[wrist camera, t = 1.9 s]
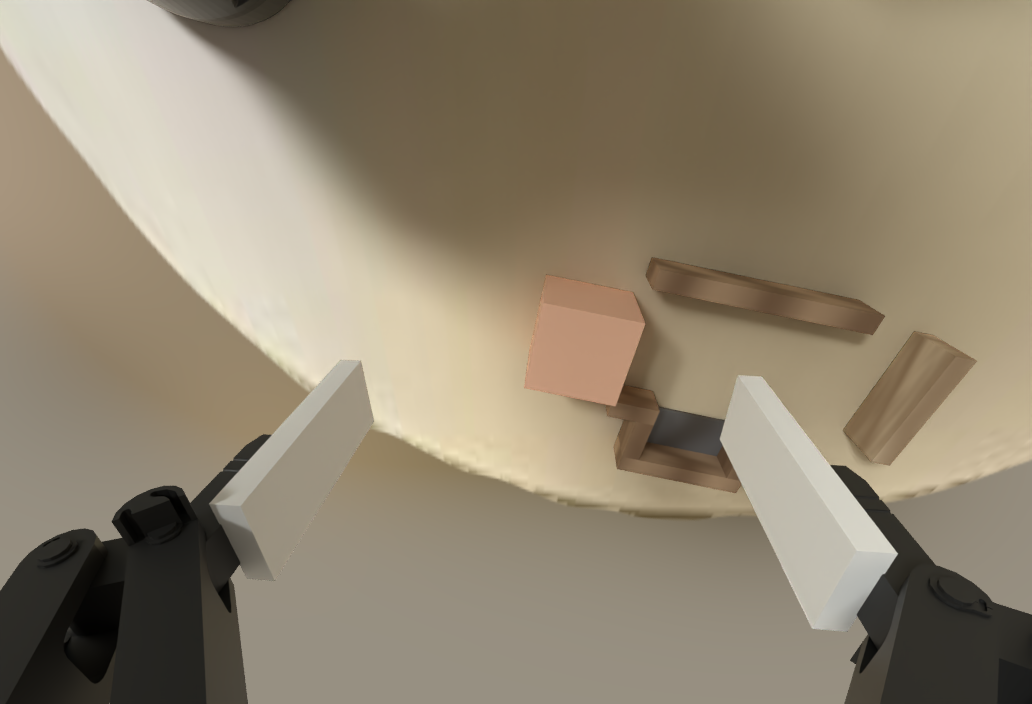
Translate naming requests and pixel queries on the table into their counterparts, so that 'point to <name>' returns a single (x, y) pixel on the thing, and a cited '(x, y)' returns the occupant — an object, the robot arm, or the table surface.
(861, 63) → the table surface
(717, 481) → the open wooden frame
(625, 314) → the block
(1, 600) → the robot arm
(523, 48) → the table surface
